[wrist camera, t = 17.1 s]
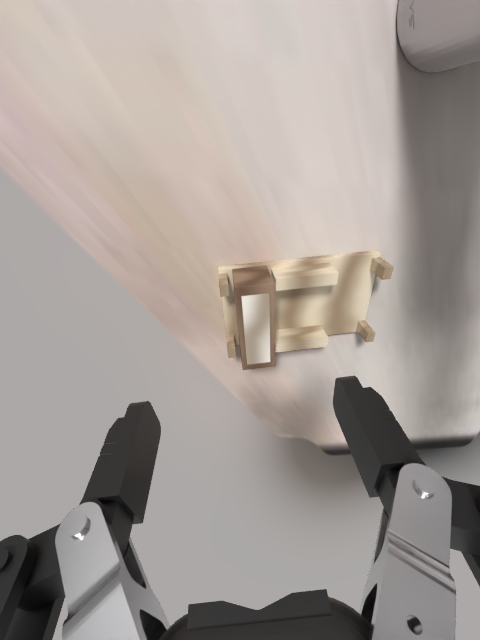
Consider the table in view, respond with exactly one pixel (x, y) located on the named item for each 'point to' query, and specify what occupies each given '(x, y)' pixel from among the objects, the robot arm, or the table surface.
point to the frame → (255, 316)
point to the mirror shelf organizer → (312, 298)
